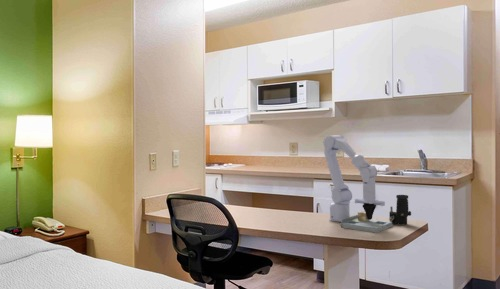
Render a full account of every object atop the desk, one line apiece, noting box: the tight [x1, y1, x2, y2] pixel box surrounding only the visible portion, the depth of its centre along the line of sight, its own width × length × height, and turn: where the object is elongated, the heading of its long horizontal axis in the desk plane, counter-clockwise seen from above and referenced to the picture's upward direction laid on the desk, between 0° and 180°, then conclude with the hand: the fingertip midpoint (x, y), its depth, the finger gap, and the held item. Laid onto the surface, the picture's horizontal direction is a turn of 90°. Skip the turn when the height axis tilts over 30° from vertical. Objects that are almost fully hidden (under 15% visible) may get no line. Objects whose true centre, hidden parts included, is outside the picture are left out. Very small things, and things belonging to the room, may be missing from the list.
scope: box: [388, 194, 412, 226], centre depth 200 cm, size 8×14×10 cm
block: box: [357, 210, 368, 221], centre depth 200 cm, size 4×4×4 cm
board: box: [340, 214, 393, 234], centre depth 196 cm, size 18×16×4 cm
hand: (369, 219), depth 198 cm, fingers closed
